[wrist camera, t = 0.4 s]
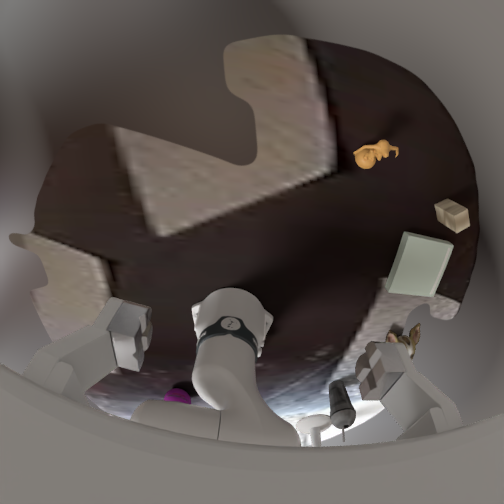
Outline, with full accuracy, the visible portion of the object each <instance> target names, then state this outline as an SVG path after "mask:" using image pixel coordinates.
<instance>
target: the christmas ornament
mask: <svg viewBox="0 0 504 504" xmlns="http://www.w3.org/2000/svg"><path fill="white" fill-rule="evenodd" d="M164 400H166V401H178V402H182V403H187V404H191V399H190V396H189V395H188V393H187V392H186V391H184V390H182V389H178V388H175V389H171V390H169V391H168V392H167V393H166V395H165V397H164Z"/></svg>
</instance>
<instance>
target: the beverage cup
mask: <svg viewBox="0 0 504 504" xmlns="http://www.w3.org/2000/svg"><path fill="white" fill-rule="evenodd" d="M329 398H330V409H331V412H330V420H331V422H332V424H333V425H334V426H335V427H337V428H339V429H342V435H343V442H345V438H344V429H346V428H348V427H350V426H351V425H352V424H353V423H354V421H355V418H356V411H355V410H354V407H353V406H352V404H351V401H350V399H349V396H348V393H347V391H346V388H345V386H344V384H343V382H342V381H339V380H338V381H333V382H332V383H330V385H329Z"/></svg>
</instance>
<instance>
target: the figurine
mask: <svg viewBox="0 0 504 504" xmlns="http://www.w3.org/2000/svg"><path fill="white" fill-rule="evenodd" d="M390 150H396V154H397V155H398V147H395V146H391V145H389V143H388V142H387V141H386V140H380V141H379V142H378V143H377V144H375V145H364V146H362V147H361V148H359V149H358V150H357V151H355V152H353V153H354V154H355V160H356V163H357V164H358V166H360V167H361V168H364V169H369V168H371V167H373V166H374V164H375V162H376V158H377V159H378V160H381V157H382V155H383V156H384V157H385V158H386V157H388V155H389V151H390ZM397 155H396V156H395V157H397Z"/></svg>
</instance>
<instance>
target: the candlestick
mask: <svg viewBox="0 0 504 504" xmlns="http://www.w3.org/2000/svg"><path fill="white" fill-rule="evenodd" d="M331 424H332V422H331V420H330V417H329V416H326V415H312V416H308V417H305V418H303V419H301V420H299V421H298V422H297V424H296V429H297V430H298V431H299V432H301V433H304V434H310V436H311V441H312V447H321V437H320V432H323V431H325V430H326V429H328V428H329V427H330V426H331Z"/></svg>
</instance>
